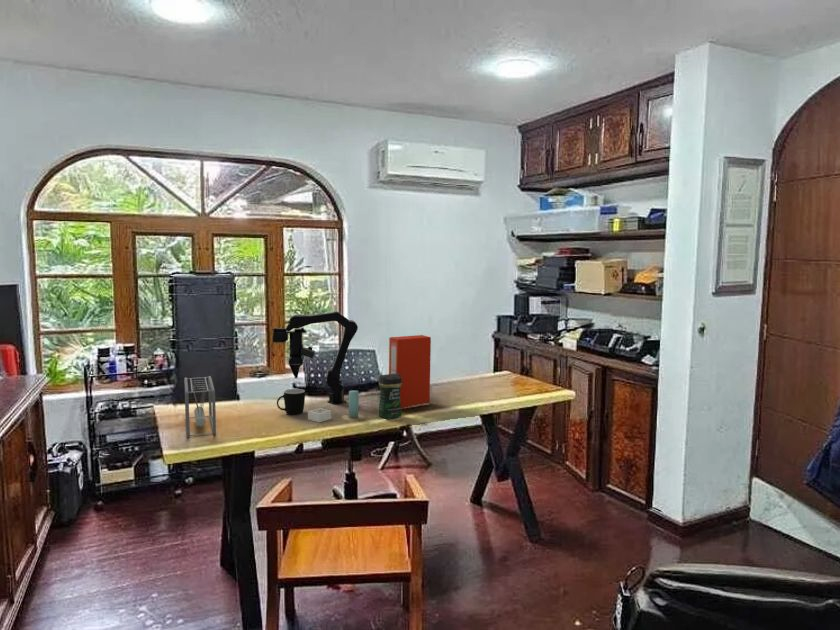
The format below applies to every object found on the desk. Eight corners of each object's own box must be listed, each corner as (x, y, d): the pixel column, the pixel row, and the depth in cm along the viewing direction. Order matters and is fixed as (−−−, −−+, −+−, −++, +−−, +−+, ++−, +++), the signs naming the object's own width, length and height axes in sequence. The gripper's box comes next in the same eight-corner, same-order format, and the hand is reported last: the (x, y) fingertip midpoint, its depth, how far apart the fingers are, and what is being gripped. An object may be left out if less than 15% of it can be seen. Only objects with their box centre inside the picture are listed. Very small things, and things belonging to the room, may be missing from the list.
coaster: (353, 413, 255) (353, 412, 255) (370, 418, 249) (370, 416, 249) (336, 418, 247) (336, 417, 247) (353, 423, 241) (353, 421, 241)
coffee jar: (384, 420, 245) (384, 377, 243) (375, 416, 252) (376, 373, 250) (404, 417, 250) (404, 374, 248) (395, 413, 257) (395, 371, 255)
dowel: (346, 417, 248) (346, 391, 246) (353, 415, 251) (353, 390, 249) (353, 418, 245) (353, 393, 244) (360, 416, 248) (360, 391, 247)
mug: (303, 410, 259) (303, 388, 258) (306, 415, 251) (306, 392, 250) (275, 412, 255) (275, 389, 254) (278, 418, 247) (277, 394, 246)
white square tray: (320, 416, 250) (320, 407, 249) (331, 419, 245) (331, 410, 245) (308, 420, 244) (307, 411, 244) (319, 423, 240) (318, 413, 240)
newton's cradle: (185, 418, 246) (184, 376, 244) (211, 415, 250) (210, 374, 248) (186, 439, 219) (185, 392, 217) (216, 436, 223) (215, 390, 221)
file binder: (429, 405, 270) (430, 337, 267) (397, 410, 261) (397, 339, 258) (420, 401, 277) (421, 334, 273) (388, 406, 268) (389, 337, 265)
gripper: (314, 345, 260) (314, 379, 262) (313, 339, 278) (313, 371, 280) (288, 345, 258) (288, 380, 260) (289, 339, 276) (290, 372, 278)
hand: (296, 376), depth 269 cm, fingers open, 9 cm apart
